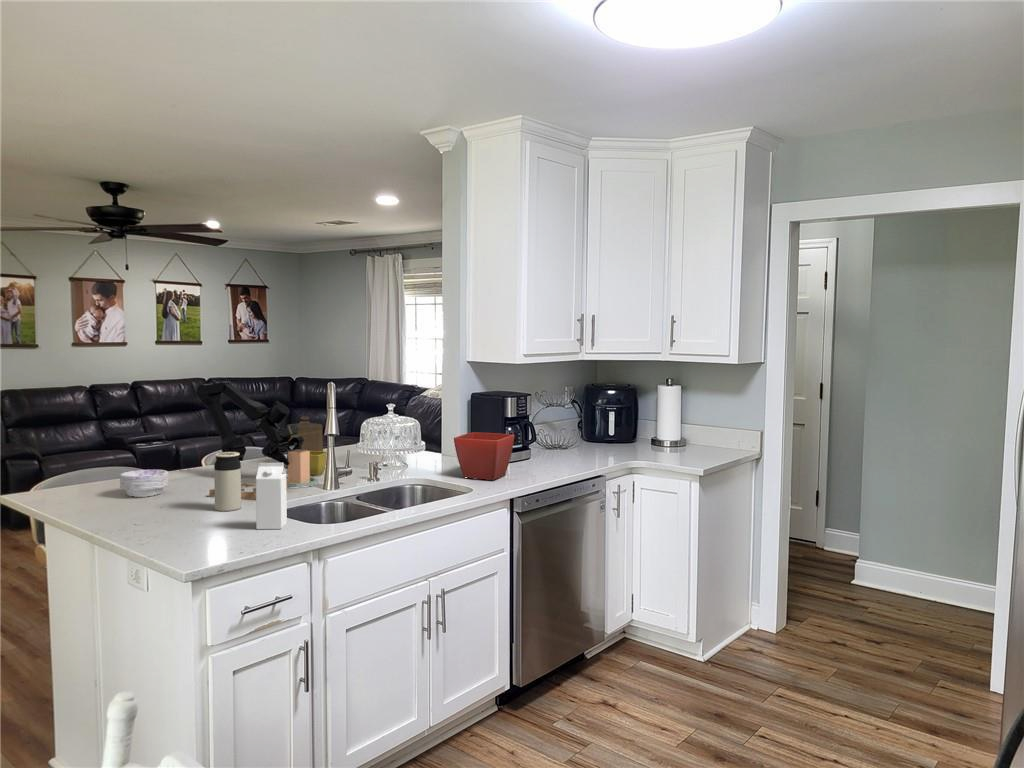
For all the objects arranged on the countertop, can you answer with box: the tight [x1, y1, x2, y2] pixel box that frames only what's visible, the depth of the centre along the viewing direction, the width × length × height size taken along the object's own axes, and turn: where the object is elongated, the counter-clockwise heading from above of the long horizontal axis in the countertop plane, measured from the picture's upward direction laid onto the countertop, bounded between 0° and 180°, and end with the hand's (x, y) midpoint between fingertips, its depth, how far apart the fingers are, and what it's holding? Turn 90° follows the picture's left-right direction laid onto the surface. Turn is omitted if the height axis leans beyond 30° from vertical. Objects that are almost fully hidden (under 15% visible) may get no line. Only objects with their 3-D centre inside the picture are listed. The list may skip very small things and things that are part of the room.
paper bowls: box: [119, 469, 169, 498], centre depth 256 cm, size 15×15×8 cm
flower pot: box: [310, 450, 328, 477], centre depth 296 cm, size 9×9×9 cm
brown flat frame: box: [208, 476, 289, 501], centre depth 262 cm, size 18×21×4 cm
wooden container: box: [286, 415, 324, 469], centre depth 312 cm, size 15×15×22 cm
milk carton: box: [255, 462, 288, 530], centre depth 216 cm, size 7×7×19 cm
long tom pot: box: [287, 449, 311, 483], centre depth 276 cm, size 6×6×12 cm
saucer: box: [289, 476, 319, 487], centre depth 277 cm, size 13×13×2 cm
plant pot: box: [453, 431, 515, 481], centre depth 295 cm, size 19×19×17 cm
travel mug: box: [213, 451, 242, 512], centre depth 237 cm, size 8×8×18 cm
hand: (296, 462), depth 277 cm, fingers open, 9 cm apart
